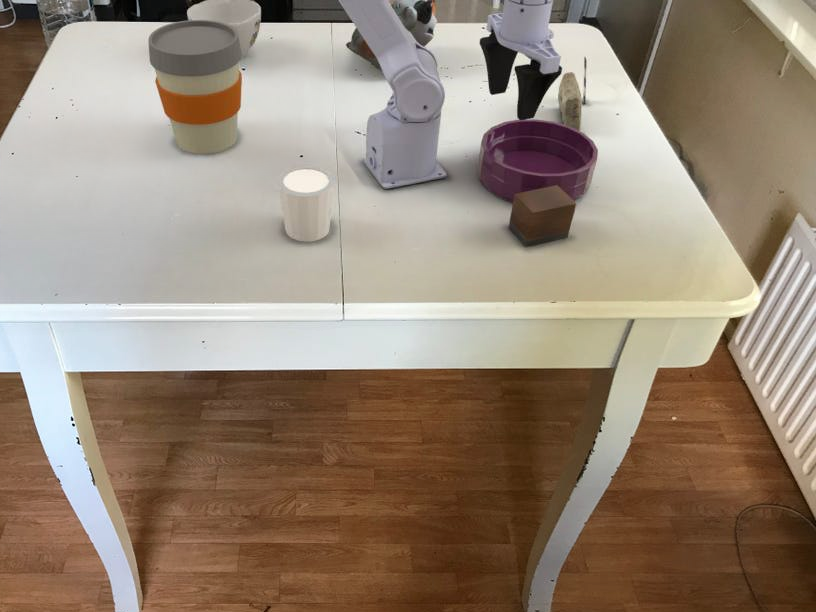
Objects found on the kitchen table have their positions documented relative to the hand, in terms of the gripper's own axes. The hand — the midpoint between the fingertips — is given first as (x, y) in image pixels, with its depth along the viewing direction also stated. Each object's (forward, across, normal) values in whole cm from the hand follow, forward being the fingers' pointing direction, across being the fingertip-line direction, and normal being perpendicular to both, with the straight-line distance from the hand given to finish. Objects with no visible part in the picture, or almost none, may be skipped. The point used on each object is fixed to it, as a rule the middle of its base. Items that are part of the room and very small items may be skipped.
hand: (511, 105), depth 99 cm
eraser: (+9, -15, +3) cm, 18 cm away
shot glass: (+9, -5, +30) cm, 32 cm away
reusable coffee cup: (+9, +22, +37) cm, 44 cm away
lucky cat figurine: (+10, +38, +1) cm, 39 cm away
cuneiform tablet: (+10, +10, -18) cm, 23 cm away
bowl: (+9, -4, -3) cm, 11 cm away
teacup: (+9, +49, +27) cm, 57 cm away
